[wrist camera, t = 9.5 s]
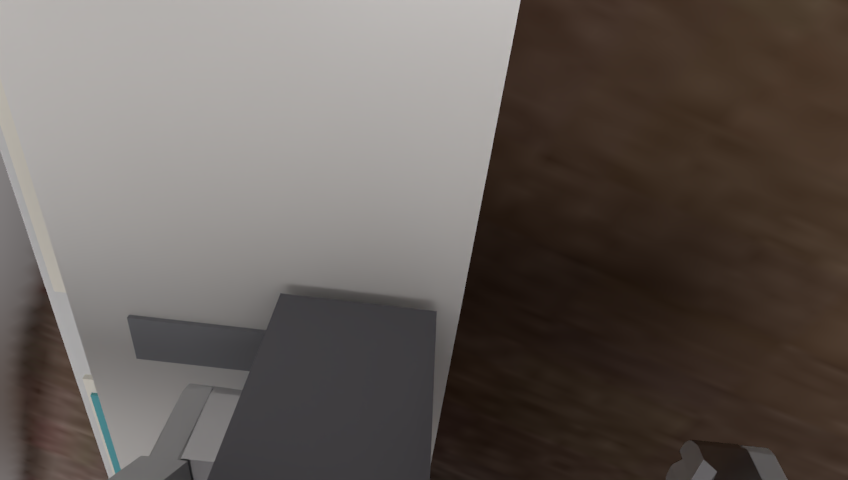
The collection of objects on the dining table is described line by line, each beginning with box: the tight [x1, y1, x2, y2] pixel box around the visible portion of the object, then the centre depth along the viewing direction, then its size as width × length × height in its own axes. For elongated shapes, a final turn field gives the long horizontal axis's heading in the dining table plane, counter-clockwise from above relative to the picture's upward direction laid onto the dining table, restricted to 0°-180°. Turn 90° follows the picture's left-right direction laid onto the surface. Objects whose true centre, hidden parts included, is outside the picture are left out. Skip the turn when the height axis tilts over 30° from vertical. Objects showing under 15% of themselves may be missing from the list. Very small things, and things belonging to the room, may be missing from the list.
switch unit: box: [0, 0, 521, 478], centre depth 15 cm, size 31×13×6 cm, turn 174°
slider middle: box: [207, 293, 437, 480], centre depth 11 cm, size 4×3×4 cm
